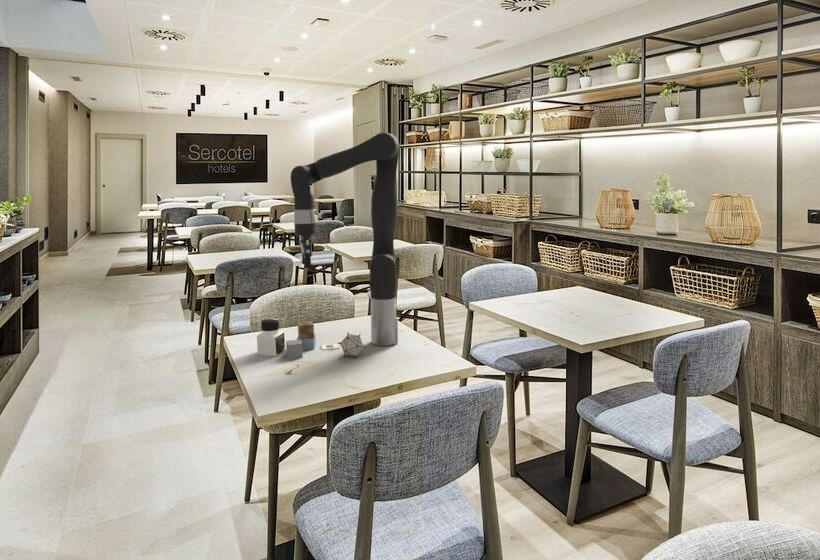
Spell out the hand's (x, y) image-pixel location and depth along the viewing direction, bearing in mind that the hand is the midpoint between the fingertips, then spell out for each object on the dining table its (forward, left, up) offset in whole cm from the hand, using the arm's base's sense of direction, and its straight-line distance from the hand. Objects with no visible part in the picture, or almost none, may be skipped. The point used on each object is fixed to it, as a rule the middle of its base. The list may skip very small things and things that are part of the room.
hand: (306, 265), depth 208 cm
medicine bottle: (+15, +12, -28) cm, 34 cm away
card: (-6, +12, -28) cm, 31 cm away
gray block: (+7, +18, -28) cm, 34 cm away
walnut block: (+2, +9, -24) cm, 26 cm away
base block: (+2, +9, -28) cm, 30 cm away
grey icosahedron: (-12, +24, -28) cm, 39 cm away
